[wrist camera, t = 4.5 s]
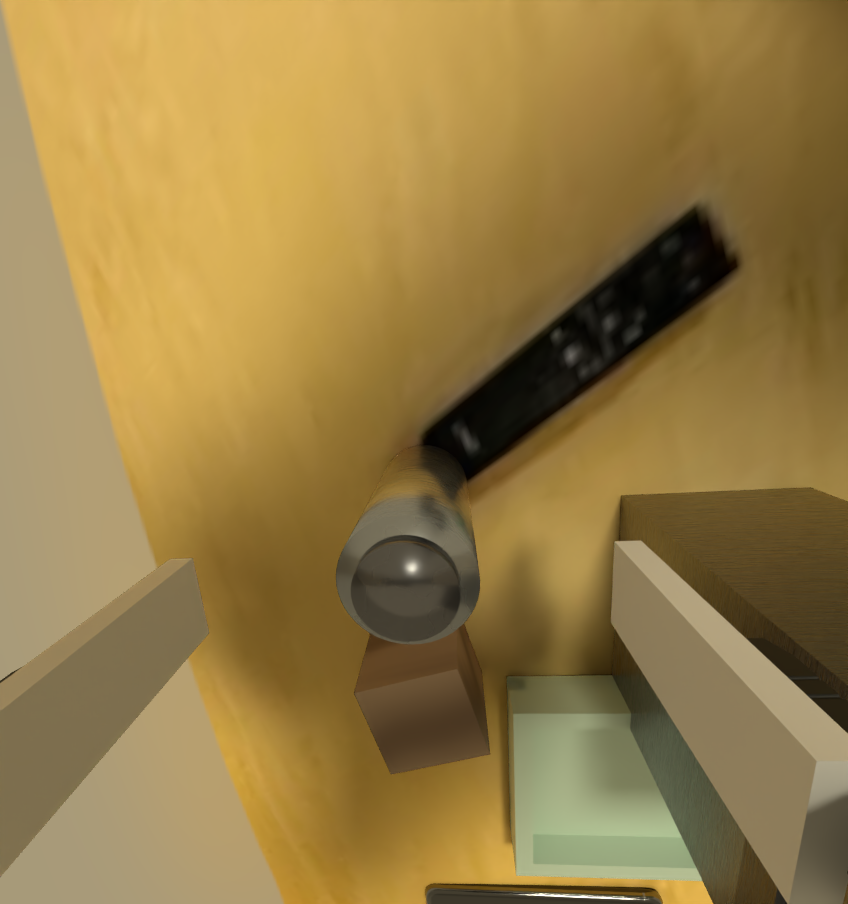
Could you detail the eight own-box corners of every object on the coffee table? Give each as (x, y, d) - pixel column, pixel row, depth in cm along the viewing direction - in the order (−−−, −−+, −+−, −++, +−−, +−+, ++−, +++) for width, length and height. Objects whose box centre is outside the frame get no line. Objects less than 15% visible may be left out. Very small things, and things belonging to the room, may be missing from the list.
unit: (615, 495, 20) (886, 732, 8) (822, 487, 20) (1498, 733, 7) (605, 689, 23) (792, 1091, 11) (786, 688, 22) (1215, 1119, 10)
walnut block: (373, 621, 23) (353, 693, 18) (455, 600, 22) (457, 668, 18) (402, 689, 24) (391, 774, 19) (481, 671, 24) (490, 754, 19)
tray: (506, 676, 23) (513, 713, 21) (721, 674, 22) (754, 713, 20) (510, 827, 26) (516, 875, 24) (700, 830, 25) (727, 881, 23)
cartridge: (379, 447, 20) (321, 527, 11) (465, 442, 20) (478, 521, 11) (387, 526, 22) (340, 659, 12) (468, 522, 21) (483, 657, 12)
